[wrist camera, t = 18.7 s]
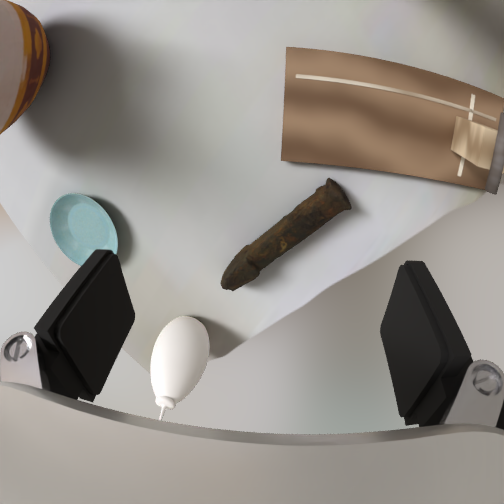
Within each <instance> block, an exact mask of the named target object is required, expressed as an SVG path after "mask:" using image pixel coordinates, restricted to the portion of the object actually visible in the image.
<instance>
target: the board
mask: <svg viewBox="0 0 504 504" xmlns="http://www.w3.org/2000/svg"><path fill="white" fill-rule="evenodd" d="M503 107H504V98H502V97H499V96H497V95H495V94H492V93H490V92H488V91H485V90H482V89H480V88H477V87H475V86H472V85H469V84H467V83H464V82H461V81H458V80H455V79H452V78H449V77H446V76H443V75H440V74H436V73H433V72H430V71H426V70H423V69H419V68H415V67H411V66H407V65H403V64H399V63H395V62H390V61H386V60H381V59H376V58H371V57H366V56H360V55H354V54H348V53H341V52H334V51H326V50H317V49H308V48H296V47H286V70H285V93H284V114H283V133H282V151H281V161H293V162H306V163H317V164H327V165H337V166H346V167H355V168H363V169H371V170H378V171H385V172H392V173H399V174H405V175H411V176H417V177H423V178H429V179H434V180H440V181H445V182H450V183H455V184H460V185H465V186H470V187H474V188H479V189H483V190H485V186H486V182H487V178H488V174H489V169H485V168H482V167H478V166H476V165H475V164H473V163H472V162H470V161H469V160H467V159H465V158H464V157H462V156H460V155H459V154H457V153H456V152H454V151H452V150H451V145H452V140H453V134H454V128H455V122H456V116H458V117H462V118H465V119H468V120H471V121H474V122H477V123H480V124H483V125H485V126H488V127H490V128H493V129H495V130H497V131H498V126H499V120H500V113H501V112H502V113H503Z"/></svg>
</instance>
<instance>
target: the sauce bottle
mask: <svg viewBox="0 0 504 504" xmlns="http://www.w3.org/2000/svg"><path fill="white" fill-rule="evenodd" d="M209 350H210V343H209V336H208V333H207V331H206V328H205V326H204V325H203V324H202V323H201V322H200V321H198V320H197V319H195V318H193V317H189V316H180V317H177V318H175V319H174V320H172V321H171V322H169V323H168V324H167V325H166V326H165V327H164V328H163V330H162V331H161V333H160V334H159V336H158V338H157V340H156V343H155V345H154V348H153V353H152V357H151V382H152V387H153V391H154V393H155V395H156V404H157V405H158V406H159V407H161V408H162V410H161V414H160V418H159V420H162V418H163V415H164V412H165V409H168V410H171V409H173V408H175V406H176V403H178V402H180V401H181V400H183V399H184V398H185V397H186V396H187V395H188V394H189V393H190V392H191V391H192V390H193V388H194V387H195V386H196V385H197V383H198V382H199V380H200V378H201V376H202V374H203V372H204V370H205V367H206V365H207V361H208V357H209Z"/></svg>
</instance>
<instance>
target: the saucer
mask: <svg viewBox="0 0 504 504" xmlns="http://www.w3.org/2000/svg"><path fill="white" fill-rule="evenodd" d="M50 227H51V231H52V235H53V237H54V240H55V241H56V243H57V245H58V246H59V248H60V249H61V251H62V252H63V253H64V254H65V255H66V256H67V257H68V258H69V259H70V260H72V261H73V262H74V263H76V264H78V265H80V266H82V265H83V263H84V262H85V261H86V260H87V259H88V258H89V256H90V255H91V254H92V253H93V252H94V251H95V250H96V249H108V250H112V251H113V252H114V254H117V250H118V237H117V232H116V229H115V226H114V224H113V222H112V220H111V218H110V217H109V215H108V214H107V212H106V211H105V210H104V209H103V208H102V206H100V205H99V204H98V203H97V202H96V201H94V200H93V199H91V198H89V197H87V196H85V195H82V194H78V193H70V194H65V195H63V196H61V197H60V198H58V199H57V200H56V202H55V203H54V205H53V207H52V209H51V213H50Z"/></svg>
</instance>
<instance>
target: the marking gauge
mask: <svg viewBox="0 0 504 504" xmlns="http://www.w3.org/2000/svg"><path fill="white" fill-rule="evenodd" d="M451 150H452V151H454V152H456V153H457V154H459V155H460V156H462V157H464V158H465V159H467V160H469V161H470V162H472V163H473V164H475V165H476V166H478V167H482V168H485V169H489V174H488V178H487V182H486V186H485V190H486V191H488V192H490V193H492V194H497V190H498V187H499V183H500V179H501V175H502V173H503V174H504V113H502V112H501V113H500V120H499V126H498V131H497V130H495V129H493V128H490V127H488V126H485V125H483V124H480V123H477V122H474V121H471V120H468V119H465V118H462V117H458V116H456V122H455V128H454V134H453V140H452V145H451Z"/></svg>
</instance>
